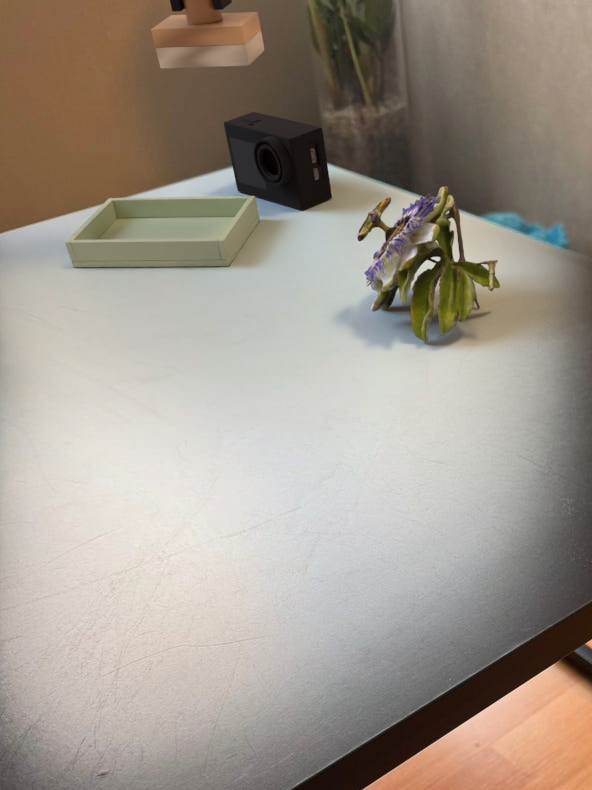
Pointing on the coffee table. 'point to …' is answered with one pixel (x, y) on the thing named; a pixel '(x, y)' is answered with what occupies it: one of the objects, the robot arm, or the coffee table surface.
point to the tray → (164, 232)
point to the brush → (207, 37)
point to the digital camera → (279, 160)
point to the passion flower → (411, 249)
